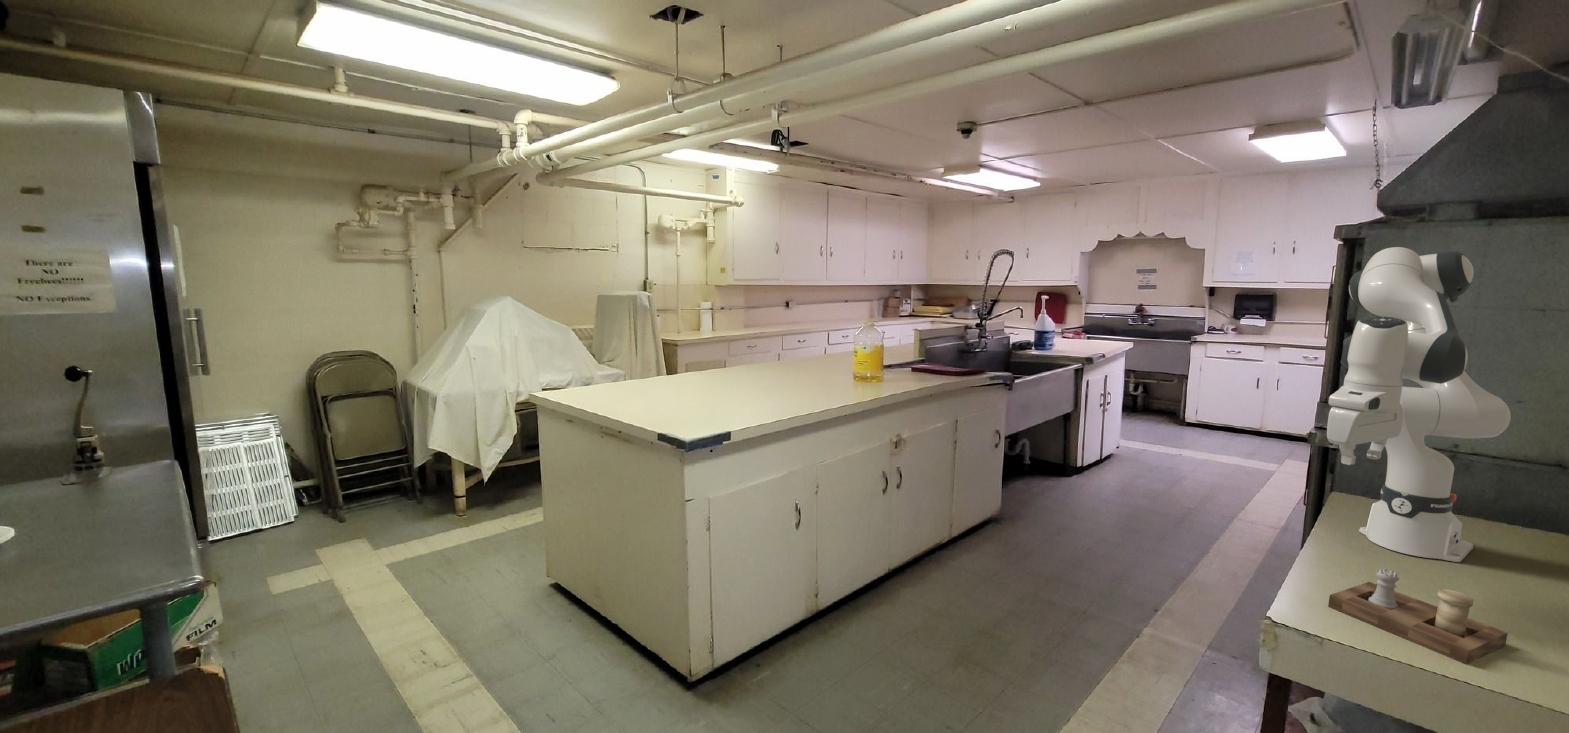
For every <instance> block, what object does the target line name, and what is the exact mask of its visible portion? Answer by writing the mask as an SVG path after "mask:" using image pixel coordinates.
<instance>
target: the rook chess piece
mask: <svg viewBox="0 0 1569 733" xmlns="http://www.w3.org/2000/svg"><path fill="white" fill-rule="evenodd" d="M1375 573H1376V574H1375V575H1376V576H1377V578H1378V579H1377V580H1376V583H1377V588H1376V591H1375V593H1374V594H1373V595H1372V597H1369V599H1368V601H1369V602H1372V603H1374V604H1377V605H1380V606H1382V607H1385V608H1387V609H1390V610H1393V609H1395V608H1398V605H1397V604H1396V601H1395V598H1394V591H1395V588H1397V585H1396V582H1398V581H1399V580H1400V578H1399V577H1398V573H1397V572H1395V571H1393V570H1389V571H1388V569H1386V568H1383V569H1382V568H1379V570H1378V572H1375Z"/></svg>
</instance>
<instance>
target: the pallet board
mask: <svg viewBox="0 0 1569 733" xmlns="http://www.w3.org/2000/svg"><path fill="white" fill-rule="evenodd" d="M1377 584H1378V583H1377ZM1377 584H1376V583H1374V582H1371V581H1367V582H1365V583H1362V584H1359V585H1354V586H1353V587H1349V588H1347V589H1346V588H1345V589H1343V590H1340V591H1338V592H1334V593H1332V594H1331V593H1330V595H1329V597H1328V599H1329V600H1328V606H1327V607H1328V608H1331V609H1333V610H1336V611H1337V612H1340V613H1343V614H1345V615H1348V616H1350V617H1352V618H1355V619H1357V620H1359V621H1361V622H1364V623H1366V624H1369V625H1370V626H1371V625H1372V626H1373V627H1376V628H1378V629H1381V630H1383V631H1386V632H1388V633H1391V634H1393V635H1396V636H1398V637H1399V638H1403V639H1405V640H1407V641H1410V642H1412V643H1414V644H1416V645H1419V646H1422V647H1424V648H1426V649H1429V650H1431V651H1434V652H1436V653H1439V654H1441V655H1443V656H1446V657H1447V658H1450V659H1453V660H1455V661H1458V662H1460V663H1462V664H1465V665H1468V664H1470V663H1473V662H1475V661H1476V660H1478V659H1480V658H1482V657H1484V656H1485V657H1486V656H1487V655H1489V654H1491V653H1493V652H1495V651H1497V650H1500V649H1502V648H1503V647H1505V646H1506V644H1507V640H1508V639H1507V638H1508V635H1509V632H1507V631H1504V630H1502V629H1498V628H1496V627H1493V626H1491V625H1488V624H1486V623H1483V622H1480V621H1477V620H1475V619H1472V618H1469V613H1470V608H1471V607H1473V605H1474V600H1475V599H1474V598H1473V597H1471V596H1470V595H1468V594H1466V593H1463V592H1460V591H1458V590H1453V589H1448V588H1447V589H1445V588H1442V589H1438V592H1437V596H1436V597H1437V598H1438V603H1437V606H1436V605H1434V604H1431V603H1428V602H1425V601H1423V600H1420V599H1418V598H1416V597H1412V596H1409V595H1407V594H1404V593H1402V592H1398V591H1395V590H1394V598H1395V601H1396V604H1397V605H1398V608H1395V609H1393V610H1390V609H1387V608H1385V607H1382V606H1380V605H1377V604H1374V603H1372V602H1369V601H1368V599H1369V597H1372V595H1373V594H1374V593H1375V591H1376V588H1377Z"/></svg>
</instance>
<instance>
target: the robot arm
mask: <svg viewBox="0 0 1569 733" xmlns="http://www.w3.org/2000/svg"><path fill="white" fill-rule="evenodd" d="M1474 273H1475V270H1474V266H1473V264H1472V262H1471V261H1470V260H1469V259H1468V257H1467V256H1466V255H1465V254H1464V253H1463V252H1460V251H1458V250H1449V251H1447V250H1446V251H1439V252H1437V253H1431V254H1423V255H1419V254H1418V253H1417V252H1416V251H1414V250H1413V249H1410V248H1407V247H1401V246H1393V247H1387V248H1383V249H1381V250H1380V251H1378V252H1376V253H1375V254H1373V255H1372V257H1371V258H1369V260H1368V261H1367V263H1366V265H1365V266H1364V268H1363V269H1361V270H1359V271H1357V272H1356V273H1354V274H1353V275H1352V276H1351V278H1350V279H1349V284H1348V292H1349V296H1350V298H1351V299H1352V300H1353V302H1354V304H1355V306H1358V307H1359V308H1362V309H1365V310H1366V311H1368V312H1369V313H1371V314H1372V315H1373V314H1374V315H1375V316H1369V317H1368V316H1367V317H1364V318H1361V319H1358V320H1357V321H1356V322H1357V323H1356V324H1355V327H1354V329H1353V332H1352V334H1351V335H1350V336H1348V337H1346V338H1344V339H1343V340H1342V341H1343V342H1342V344H1343V345H1342V352H1341V357H1340V358H1341V359H1340V362H1339V363H1340V364H1341V365H1342V366H1344V367H1345V368H1346V369H1348V370H1347V372H1346V375H1345V376H1344V379H1343V385H1342V386H1341V387H1339V389H1337V390H1336V391H1334V393H1332V394H1330V396H1329V397H1328V405H1329V406H1332V407H1331V408H1330V410H1329V411H1328V418H1327V424H1326V425H1327V426H1326V427H1327V428H1326V438H1327V440H1328V443H1330V444H1334V445H1339V446H1338V449H1339V452H1340V455H1341V457H1340V463H1341V464H1343V465H1348V466H1352V465H1355V463H1356V459H1357V456H1355V453H1354V451H1355V449H1356V448H1357V447H1356V446H1357V445H1362V444H1368V443H1371V444H1370V446H1369V449H1367V451H1366V458H1367V459H1370V460H1379V459H1381V458H1382V453H1383V452H1382V451H1383V450H1384V449H1385V450H1386V454H1387V466H1386V474H1385V475H1386V476H1385V482H1384V483H1383V484H1382V487H1381V488H1380V500H1378V501H1376V502H1374V503H1372V505H1371V508H1370V512H1369V517H1368V519H1367V525H1366V526H1361V527H1359V530H1358V531H1359V533H1361V534H1362V535H1364V536H1365V537H1367V539H1368V540H1369V541H1371V542H1372V543H1374V544H1375V545H1377V546H1380V547H1382V548H1385V549H1388V550H1391V551H1394V552H1398V553H1401V554H1406V555H1409V556H1415V557H1419V558H1420V557H1421V558H1427V559H1435V560H1436V559H1438V560H1443V561H1450V562H1455V563H1462V561H1463V559H1465V558H1466V557H1467V555H1468V554H1469V553H1470V552H1471V551H1472V550H1473V549H1474V544H1473V543H1472V542H1470V541H1467V540H1465V539H1463V538H1461V536H1462V531H1463V530H1462V529H1463V523H1462V521H1460V519H1458V518H1457V516H1456V515H1455V514H1454V513H1453V512H1452V511H1453V504H1454V503H1455V502H1456V501H1457V497H1458V496H1457V494H1455V493H1452V492H1451V491H1452V490H1451V489H1452V486H1453V479H1454V474H1455V466H1454V463H1453V461H1452V460H1451V459H1450V458H1449V457H1448V456H1446V455H1445V454H1443V453H1441V452H1439V451H1438V450H1435V449H1434V448H1431V447H1429V446H1427V445H1426V443H1425V437H1426V436H1434V437H1435V436H1437V437H1447V438H1457V439H1458V438H1459V439H1485V438H1487V439H1489V438H1496V437H1497V436H1499V435H1501V434H1503V433H1504V432H1505V431H1506V429H1508V427H1509V425H1510V423H1511V418H1512V417H1511V416H1512V414H1511V411H1510V408H1509V406H1508V405H1507V402H1505V401H1504V400H1503V399H1502V398H1500V397H1499V396H1497V395H1494V394H1493V393H1490V392H1489V391H1487V390H1486V389H1484V388H1483V387H1481V386H1480V385H1479V384H1477V383H1476V382H1475V381H1474V380H1473V379H1472V378H1471V377H1470V376H1469V375H1468V374H1467V372H1466V371H1465V370H1466V368H1467V365H1468V359H1469V356H1468V355H1469V354H1468V349H1467V347H1466V345H1465V341H1464V340H1463V339H1462V337H1461V336H1460V334H1459V331H1458V328H1457V325H1456V323H1455V320H1454V316H1453V313H1452V310H1451V307H1450V306H1449V303H1448V299H1449V301H1450V303H1452V304H1453V303H1455V302H1457V301H1458V298H1459V297H1460V296H1461V295H1463V294H1465V293H1466V292H1467V291H1468V289H1469V288H1470V287H1471V286H1472V284H1473V278H1474ZM1403 379H1406V380H1410V381H1413V382H1414V383H1416V384H1418V385H1420V386H1421V387H1415V386H1413V387H1412V386H1404V380H1403Z"/></svg>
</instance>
